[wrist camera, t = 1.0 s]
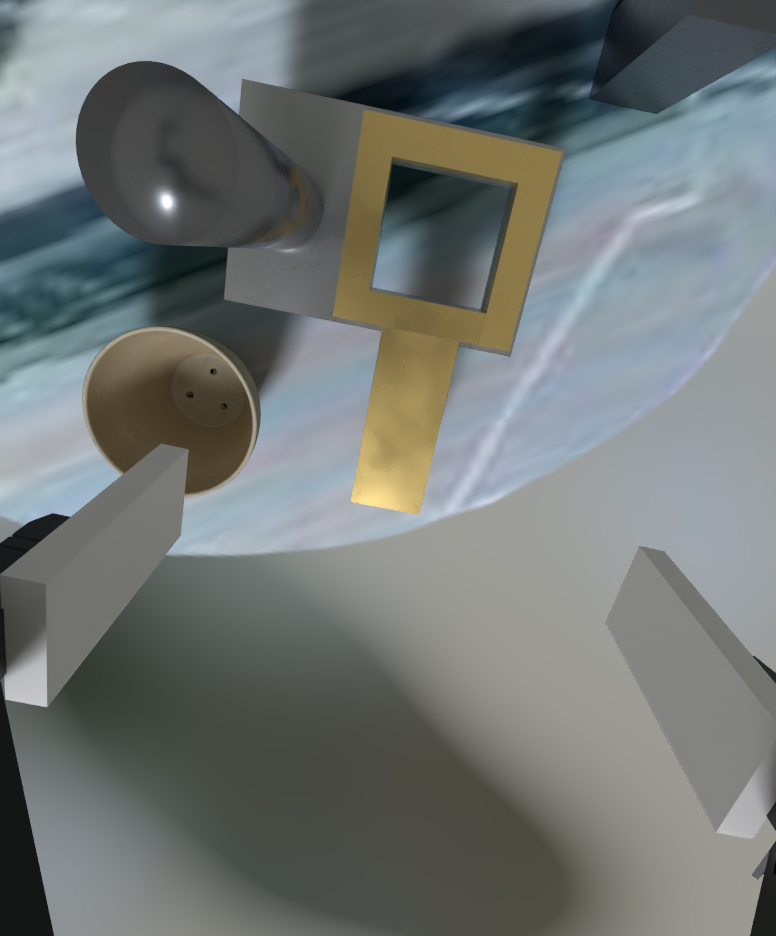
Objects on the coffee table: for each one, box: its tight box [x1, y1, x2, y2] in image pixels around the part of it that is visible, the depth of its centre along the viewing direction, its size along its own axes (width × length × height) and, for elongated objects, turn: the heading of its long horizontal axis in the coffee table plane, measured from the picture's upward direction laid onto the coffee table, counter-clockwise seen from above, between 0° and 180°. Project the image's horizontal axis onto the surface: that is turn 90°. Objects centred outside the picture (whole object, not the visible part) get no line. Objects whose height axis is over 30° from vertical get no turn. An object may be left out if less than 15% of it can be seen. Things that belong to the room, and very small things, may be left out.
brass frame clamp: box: [76, 61, 566, 514], centre depth 26 cm, size 20×16×22 cm
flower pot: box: [82, 326, 261, 497], centre depth 35 cm, size 10×10×7 cm
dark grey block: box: [589, 0, 776, 114], centre depth 26 cm, size 4×4×12 cm
